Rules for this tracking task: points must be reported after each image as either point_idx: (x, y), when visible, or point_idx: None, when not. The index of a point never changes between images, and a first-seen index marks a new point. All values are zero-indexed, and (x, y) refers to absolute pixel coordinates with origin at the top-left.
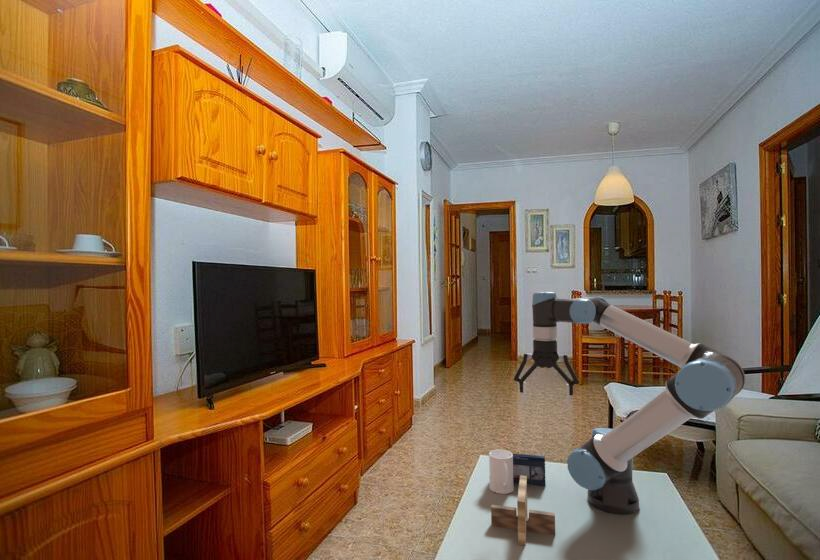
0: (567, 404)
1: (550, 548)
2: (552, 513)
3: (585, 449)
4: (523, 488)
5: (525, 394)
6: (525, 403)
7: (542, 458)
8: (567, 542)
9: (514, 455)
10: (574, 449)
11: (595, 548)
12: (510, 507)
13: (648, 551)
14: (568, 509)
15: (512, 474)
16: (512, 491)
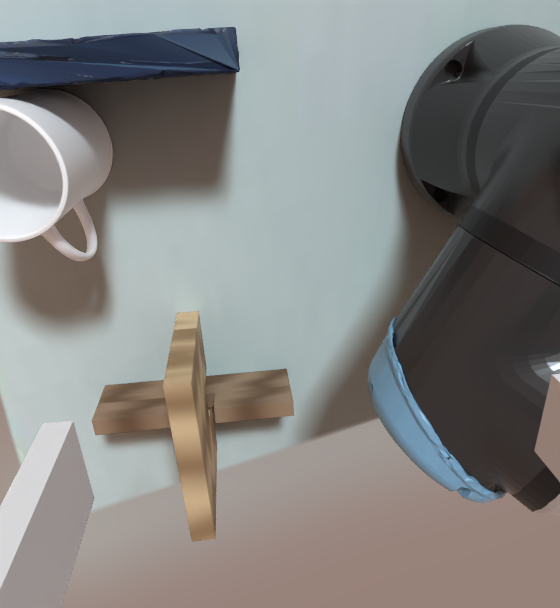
0: (549, 462)
1: (276, 434)
2: (286, 406)
3: (483, 469)
4: (196, 471)
5: (61, 599)
6: (91, 498)
7: (226, 70)
8: (317, 400)
9: (60, 73)
10: (429, 438)
11: None
12: (155, 416)
13: None
14: (326, 234)
15: (93, 170)
16: (110, 168)
